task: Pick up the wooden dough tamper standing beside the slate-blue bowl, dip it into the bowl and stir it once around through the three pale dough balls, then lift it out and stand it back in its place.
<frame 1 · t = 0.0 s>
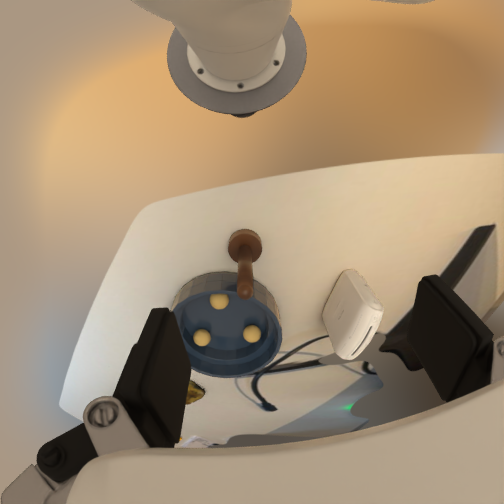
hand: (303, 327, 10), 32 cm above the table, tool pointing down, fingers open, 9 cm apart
wooden dough tamper: (245, 244, 44), on the table
dough ball a: (252, 333, 48), point 2 cm above the table, touching bowl
dough ball b: (219, 299, 45), point 2 cm above the table, touching bowl
bowl: (225, 317, 49), on the table
lumpy olive cookie: (172, 388, 58), on the table
photo printer: (340, 293, 48), on the table
dough ball c: (201, 337, 49), point 2 cm above the table, touching bowl
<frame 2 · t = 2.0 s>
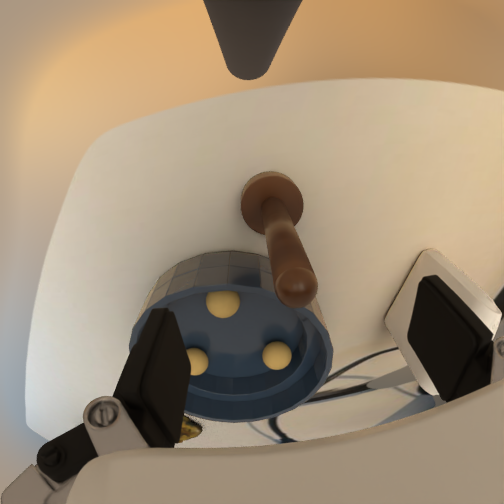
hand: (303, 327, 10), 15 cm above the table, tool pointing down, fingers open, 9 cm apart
wooden dough tamper: (270, 199, 24), on the table
dough ball a: (276, 355, 29), point 2 cm above the table, touching bowl
dough ball b: (222, 301, 26), point 2 cm above the table, touching bowl
bowl: (231, 328, 30), on the table
lumpy olive cookie: (156, 421, 38), on the table
photo printer: (412, 287, 28), on the table
dough ball c: (194, 361, 29), point 2 cm above the table, touching bowl
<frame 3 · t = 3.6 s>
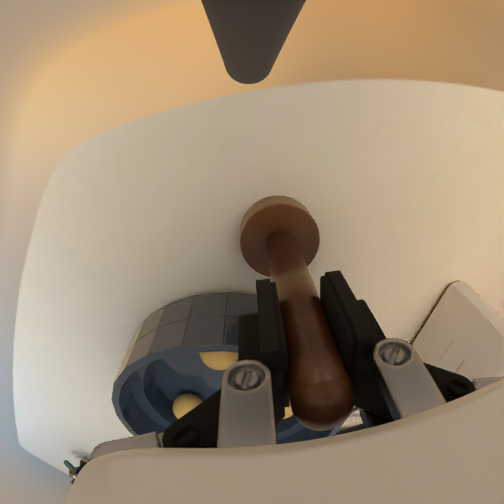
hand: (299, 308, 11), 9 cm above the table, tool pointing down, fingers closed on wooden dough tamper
wooden dough tamper: (277, 231, 19), on the table, touching gripper
dough ball a: (282, 403, 24), point 2 cm above the table, touching bowl
dough ball b: (219, 350, 21), point 2 cm above the table, touching bowl
bowl: (230, 373, 25), on the table
passion flower: (105, 462, 36), on the table
photo printer: (435, 323, 24), on the table
dough ball c: (188, 408, 24), point 2 cm above the table, touching bowl
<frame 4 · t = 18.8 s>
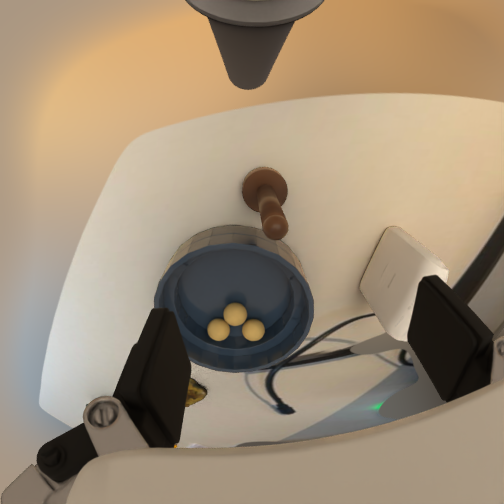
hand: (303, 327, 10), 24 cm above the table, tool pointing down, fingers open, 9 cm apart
wooden dough tamper: (263, 187, 32), on the table
dough ball a: (253, 330, 38), point 2 cm above the table, tilted 91°, touching bowl
dough ball b: (235, 314, 37), point 2 cm above the table, tilted 94°, touching bowl
bowl: (234, 290, 38), on the table
lumpy olive cookie: (166, 386, 46), on the table
photo printer: (381, 259, 37), on the table
dough ball c: (218, 329, 38), point 2 cm above the table, touching bowl
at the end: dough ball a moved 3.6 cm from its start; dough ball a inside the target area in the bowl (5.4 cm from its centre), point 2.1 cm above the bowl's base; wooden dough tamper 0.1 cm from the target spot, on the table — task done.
